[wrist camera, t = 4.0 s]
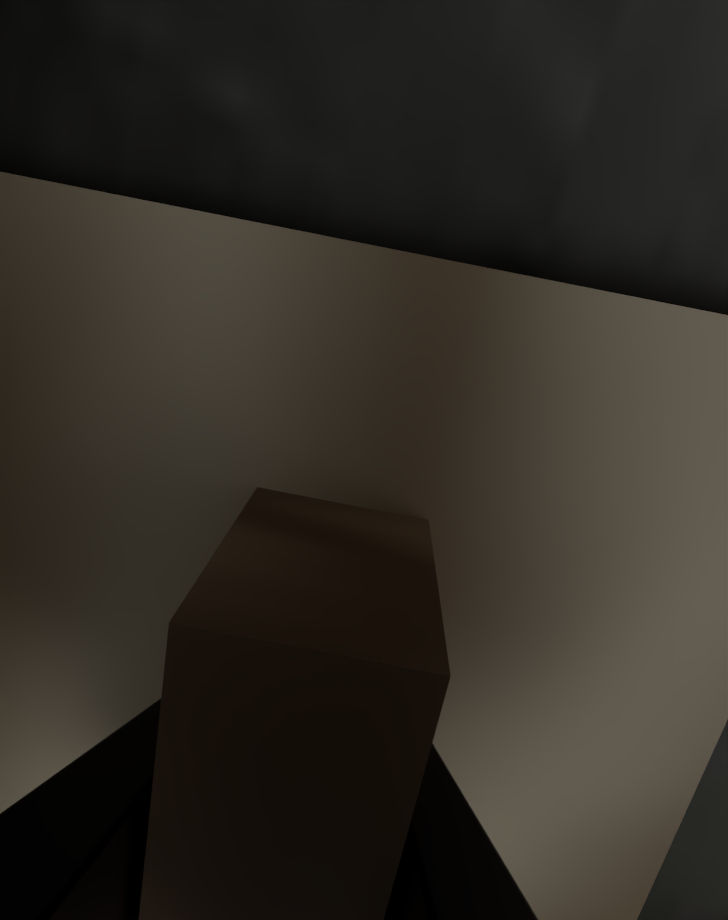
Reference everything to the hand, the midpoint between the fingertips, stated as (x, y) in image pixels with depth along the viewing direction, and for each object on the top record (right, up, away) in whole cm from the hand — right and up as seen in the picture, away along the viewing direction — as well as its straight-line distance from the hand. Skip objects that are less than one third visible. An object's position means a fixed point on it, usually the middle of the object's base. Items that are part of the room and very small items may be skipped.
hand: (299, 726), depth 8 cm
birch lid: (0, +1, +2) cm, 2 cm away
